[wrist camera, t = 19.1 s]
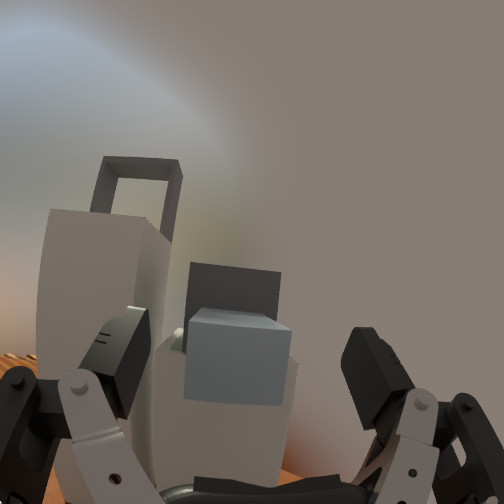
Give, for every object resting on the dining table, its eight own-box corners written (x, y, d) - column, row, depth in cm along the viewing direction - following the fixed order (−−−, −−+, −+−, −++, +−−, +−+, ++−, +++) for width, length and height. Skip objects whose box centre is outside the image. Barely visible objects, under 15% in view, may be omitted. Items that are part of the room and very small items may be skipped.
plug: (307, 405, 11) (324, 260, 12) (157, 394, 11) (169, 242, 12) (255, 338, 30) (261, 277, 31) (193, 332, 29) (199, 270, 30)
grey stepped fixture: (264, 537, 17) (314, 140, 23) (64, 500, 15) (77, 122, 21) (251, 477, 30) (282, 188, 36) (98, 453, 28) (116, 171, 34)
